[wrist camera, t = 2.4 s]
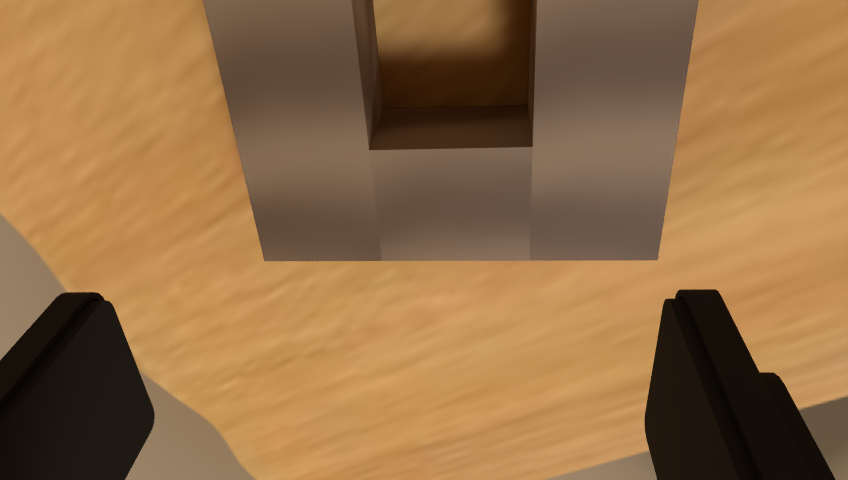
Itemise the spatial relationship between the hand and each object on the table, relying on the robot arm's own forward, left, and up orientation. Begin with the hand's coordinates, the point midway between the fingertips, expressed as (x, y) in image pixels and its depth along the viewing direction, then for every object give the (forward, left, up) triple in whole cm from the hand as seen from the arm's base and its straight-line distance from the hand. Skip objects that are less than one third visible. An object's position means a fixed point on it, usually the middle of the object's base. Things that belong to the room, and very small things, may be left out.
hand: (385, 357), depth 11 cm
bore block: (0, 0, -18) cm, 18 cm away
